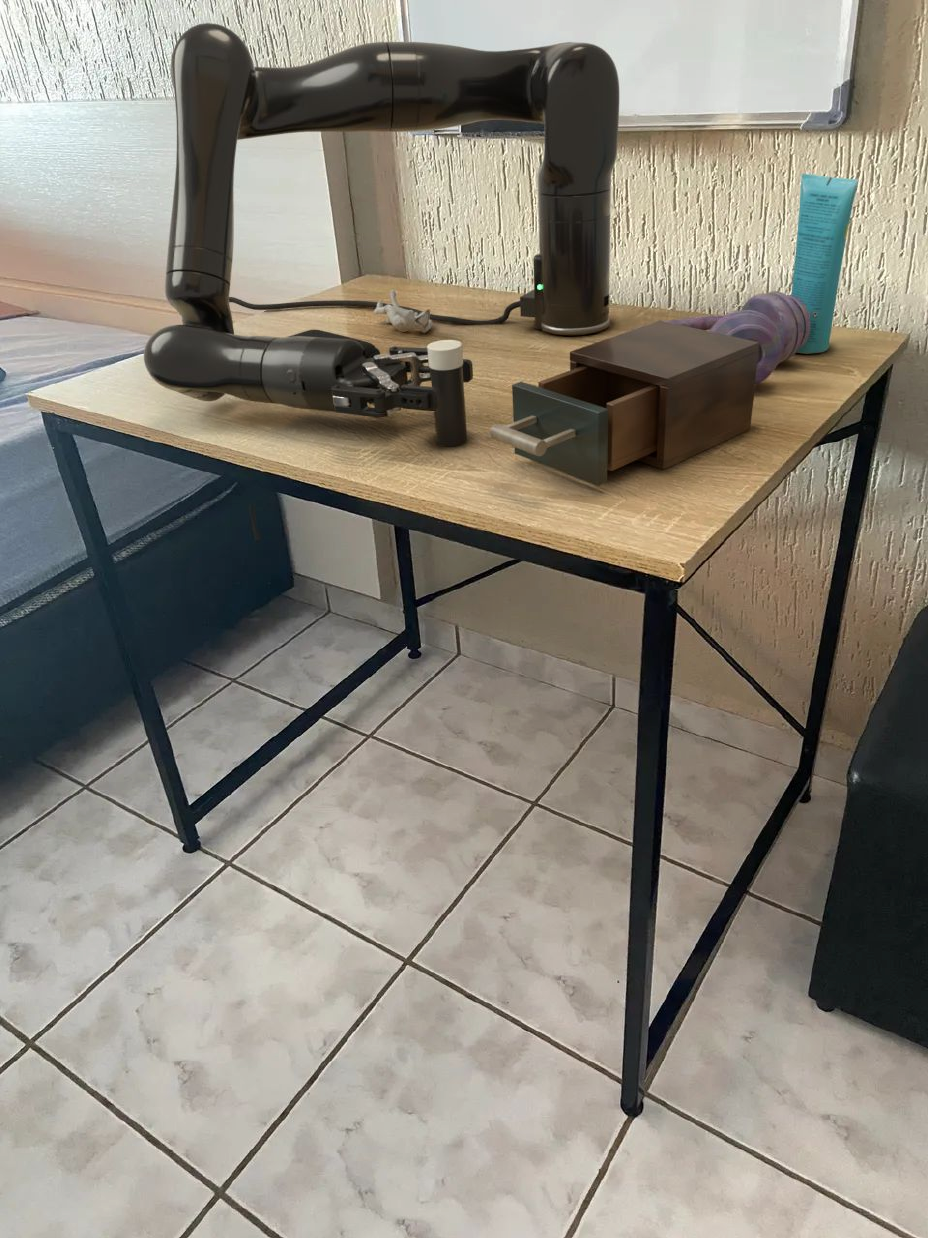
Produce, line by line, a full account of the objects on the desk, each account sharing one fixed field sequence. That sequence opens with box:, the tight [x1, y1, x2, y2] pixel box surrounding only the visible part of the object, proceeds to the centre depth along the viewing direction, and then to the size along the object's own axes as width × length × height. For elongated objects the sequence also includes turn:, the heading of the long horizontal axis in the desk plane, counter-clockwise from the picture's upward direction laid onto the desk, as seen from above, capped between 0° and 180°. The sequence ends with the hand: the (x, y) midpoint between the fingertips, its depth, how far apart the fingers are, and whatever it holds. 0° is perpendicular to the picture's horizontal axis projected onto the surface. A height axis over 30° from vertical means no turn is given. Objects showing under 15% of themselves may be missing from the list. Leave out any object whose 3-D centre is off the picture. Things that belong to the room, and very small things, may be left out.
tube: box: [791, 173, 860, 355], centre depth 109 cm, size 7×5×19 cm, turn 39°
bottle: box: [426, 339, 468, 448], centre depth 95 cm, size 3×3×10 cm
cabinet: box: [569, 320, 759, 470], centre depth 93 cm, size 13×12×9 cm
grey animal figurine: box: [373, 289, 434, 334], centre depth 131 cm, size 8×5×12 cm
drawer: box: [489, 365, 660, 487], centre depth 88 cm, size 17×11×7 cm, turn 130°
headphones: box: [631, 290, 811, 386], centre depth 109 cm, size 18×8×20 cm
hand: (454, 384), depth 94 cm, fingers open, 8 cm apart
